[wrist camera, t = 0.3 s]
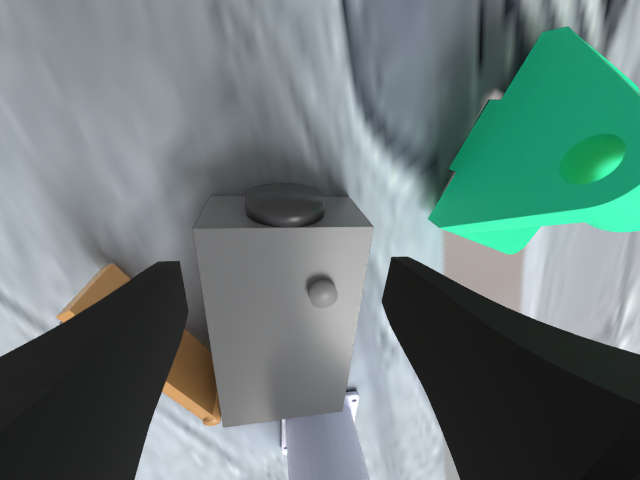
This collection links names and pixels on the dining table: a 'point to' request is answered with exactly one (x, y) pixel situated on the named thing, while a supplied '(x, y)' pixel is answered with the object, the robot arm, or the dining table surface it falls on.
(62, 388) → the robot arm
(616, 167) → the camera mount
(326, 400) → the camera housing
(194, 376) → the tan piece
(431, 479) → the dining table surface
